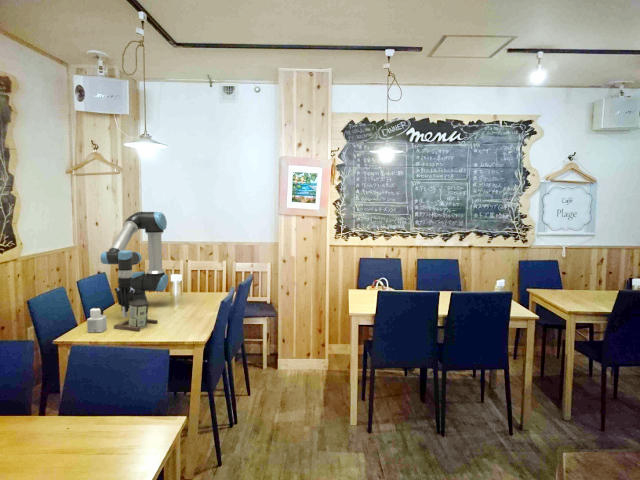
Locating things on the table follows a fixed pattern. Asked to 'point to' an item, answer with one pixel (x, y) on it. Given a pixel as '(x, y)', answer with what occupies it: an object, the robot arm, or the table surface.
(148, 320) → the dock
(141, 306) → the coffee can
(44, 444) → the table surface
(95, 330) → the container
